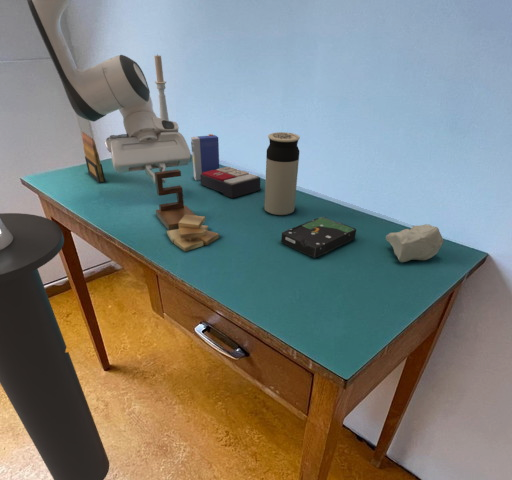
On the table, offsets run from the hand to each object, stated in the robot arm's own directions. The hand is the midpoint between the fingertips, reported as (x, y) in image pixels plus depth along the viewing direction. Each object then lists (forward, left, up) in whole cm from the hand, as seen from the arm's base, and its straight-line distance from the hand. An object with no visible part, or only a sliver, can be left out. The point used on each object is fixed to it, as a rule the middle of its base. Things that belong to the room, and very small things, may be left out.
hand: (159, 182), depth 103 cm
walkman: (+19, +16, -6) cm, 25 cm away
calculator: (+22, +5, -6) cm, 23 cm away
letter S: (0, -12, -6) cm, 13 cm away
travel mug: (+27, -16, -6) cm, 32 cm away
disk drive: (+26, -36, -6) cm, 45 cm away
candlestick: (+14, +39, -6) cm, 42 cm away
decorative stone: (+41, -49, -6) cm, 64 cm away
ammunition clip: (-12, +29, -6) cm, 32 cm away
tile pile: (0, -23, -6) cm, 24 cm away
